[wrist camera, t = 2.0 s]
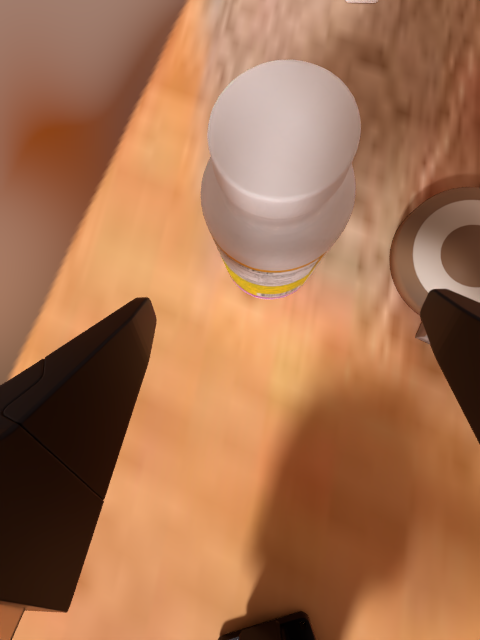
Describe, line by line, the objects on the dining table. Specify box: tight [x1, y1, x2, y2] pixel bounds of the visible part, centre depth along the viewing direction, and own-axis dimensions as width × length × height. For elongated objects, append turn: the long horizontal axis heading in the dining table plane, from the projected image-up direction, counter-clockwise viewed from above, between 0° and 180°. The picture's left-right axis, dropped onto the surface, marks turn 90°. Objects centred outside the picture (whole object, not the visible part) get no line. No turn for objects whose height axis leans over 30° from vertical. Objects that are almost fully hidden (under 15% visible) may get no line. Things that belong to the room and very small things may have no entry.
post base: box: [390, 187, 480, 344], centre depth 19 cm, size 13×10×1 cm
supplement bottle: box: [201, 60, 361, 299], centre depth 15 cm, size 7×7×13 cm
